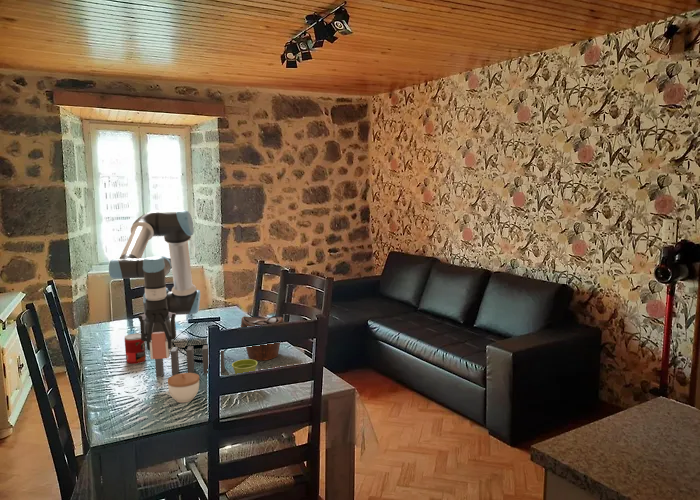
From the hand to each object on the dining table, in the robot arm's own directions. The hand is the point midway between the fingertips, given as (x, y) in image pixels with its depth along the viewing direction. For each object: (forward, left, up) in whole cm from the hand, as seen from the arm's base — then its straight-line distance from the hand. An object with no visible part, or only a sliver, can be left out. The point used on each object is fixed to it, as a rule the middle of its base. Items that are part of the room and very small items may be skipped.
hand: (160, 357), depth 202 cm
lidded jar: (+18, +11, -10) cm, 24 cm away
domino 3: (-8, +4, -10) cm, 13 cm away
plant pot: (+10, +32, -10) cm, 35 cm away
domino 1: (0, 0, 0) cm, 0 cm away
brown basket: (-22, +39, -10) cm, 46 cm away
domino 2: (-8, -2, -10) cm, 12 cm away
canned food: (-26, -15, -10) cm, 31 cm away
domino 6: (-8, +22, -10) cm, 25 cm away
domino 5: (-8, +16, -10) cm, 20 cm away
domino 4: (-8, +10, -10) cm, 16 cm away
